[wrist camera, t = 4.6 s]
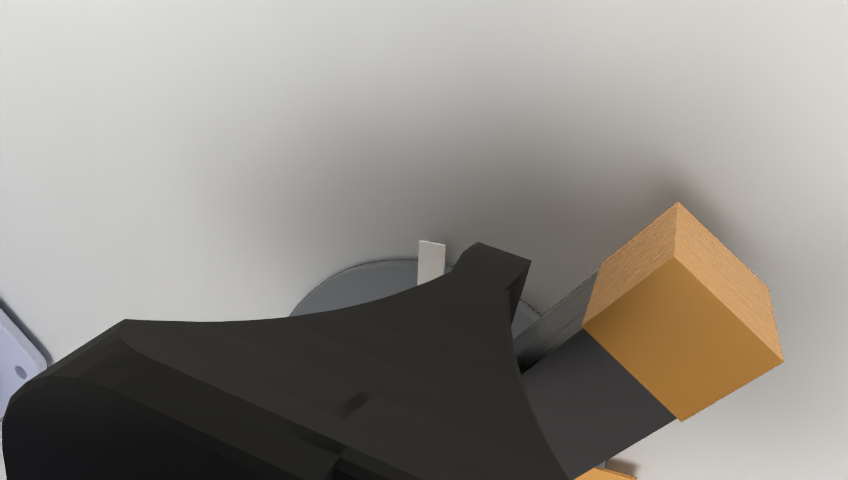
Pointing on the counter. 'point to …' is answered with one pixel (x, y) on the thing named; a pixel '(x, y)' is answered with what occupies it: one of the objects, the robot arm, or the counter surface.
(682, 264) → the collar
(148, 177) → the counter surface
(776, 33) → the counter surface
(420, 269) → the post base
